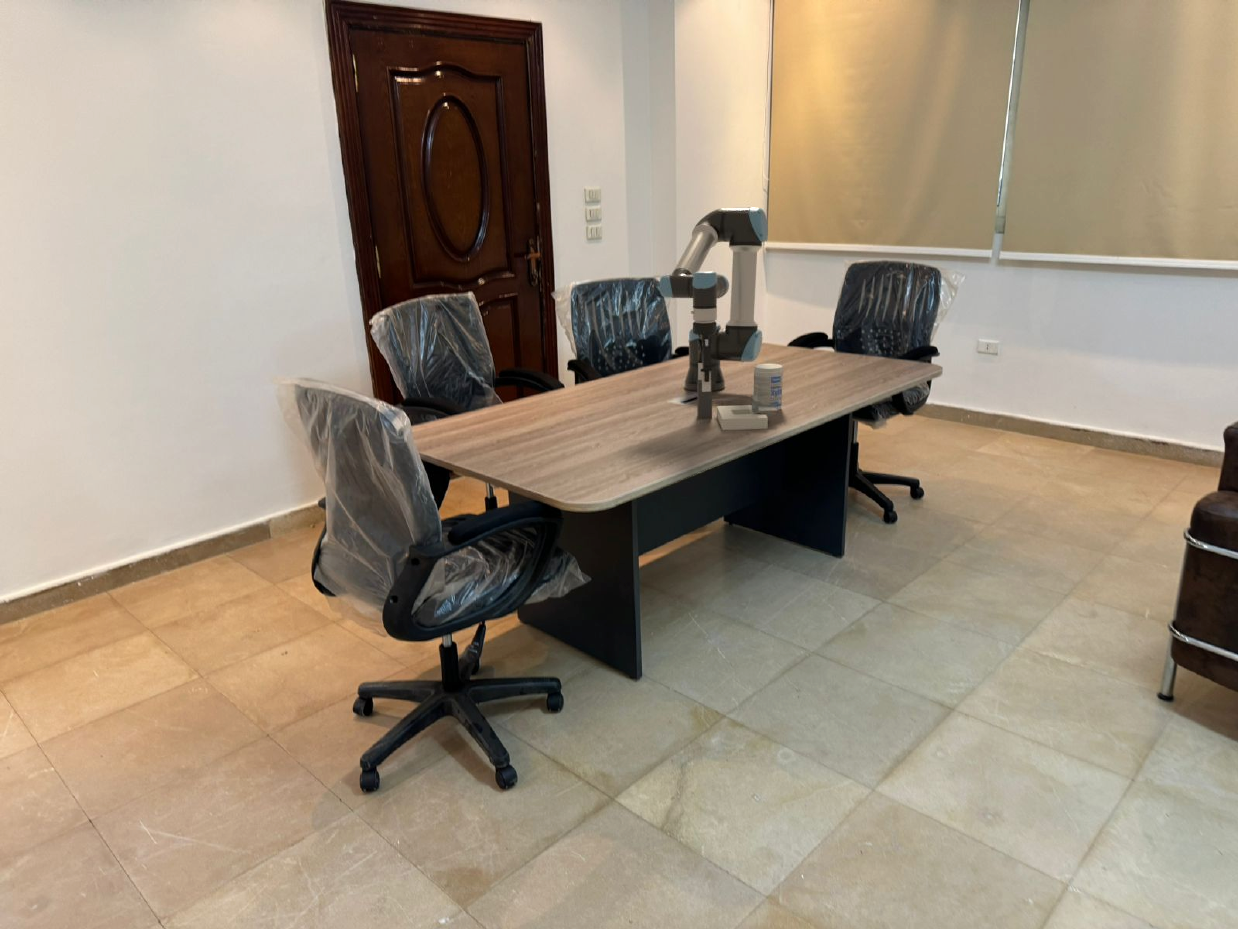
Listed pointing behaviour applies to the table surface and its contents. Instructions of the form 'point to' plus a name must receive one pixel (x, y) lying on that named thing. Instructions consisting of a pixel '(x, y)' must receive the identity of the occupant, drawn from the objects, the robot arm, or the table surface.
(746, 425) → the socket plate
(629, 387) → the table surface
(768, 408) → the plate
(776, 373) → the supplement tub
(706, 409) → the plug
